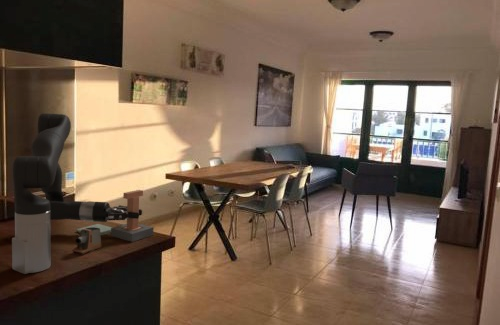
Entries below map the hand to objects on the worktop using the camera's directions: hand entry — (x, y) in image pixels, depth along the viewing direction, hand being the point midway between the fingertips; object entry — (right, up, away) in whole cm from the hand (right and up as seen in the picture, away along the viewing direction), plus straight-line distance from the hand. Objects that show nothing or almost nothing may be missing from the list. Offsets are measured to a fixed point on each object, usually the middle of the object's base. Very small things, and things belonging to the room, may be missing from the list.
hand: (140, 213), depth 156 cm
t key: (-3, -8, +1) cm, 9 cm away
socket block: (-3, -8, +1) cm, 9 cm away
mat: (-18, -7, +3) cm, 20 cm away
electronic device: (-13, -10, -17) cm, 24 cm away
